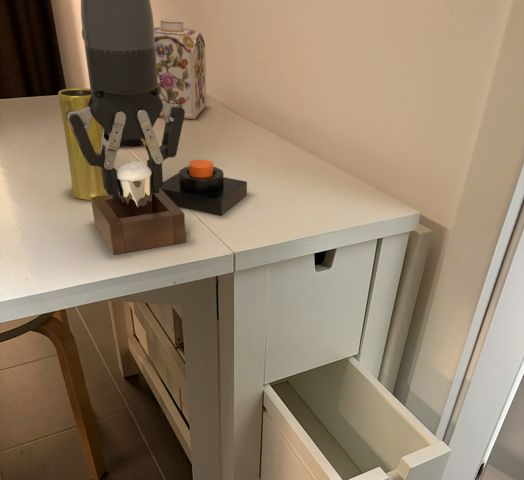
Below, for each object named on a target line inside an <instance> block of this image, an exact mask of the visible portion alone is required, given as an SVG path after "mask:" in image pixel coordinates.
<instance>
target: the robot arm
mask: <svg viewBox="0 0 524 480" xmlns="http://www.w3.org/2000/svg"><path fill="white" fill-rule="evenodd" d="M80 19H81V37H82V40H83V43H84V52H85V60H86V65H87V73H88V74H87V75H88V81H89V82H88V83H89V89H90V90H91V97H90V101H89V103H88V107H86V108H83V109H81V110H78V111H73V110H68V111H67V112H66V118H67V120H68V122H69V125H70V127H71V129H72V131H73V134H74V136H75V138H76V140H77V143H78V145H79V147H80V149H81V152H82V154H83V156H84V158H85V159H86V161H87V162H88V163H89V164H90V165H91V166H99V167H101V171H102V179H103V186H104V189H105V190H106V192H107V193H108V195H111V197H112V198H113V199H116V198H119V190H118V182H117V173H116V169H117V168H115V163H116V159H117V154H118V152H119V150H120V147H121V146H120V141H124V140H127V139H130V138H135V139H141V141H142V142H143V144H142V145H143V147H144V149H145V151H146V154H147V156H148V159H146V165H147V166H148V167H149V168H150V169H151V172H152V193H159V188H162V186H163V182H164V175H163V162H165V160H167V159H169V158H171V159H173V158H175V157H176V156H177V154H178V148H179V143H180V139H181V134H182V129H183V124H184V120H185V119H184V115H185V111H184V109H183V108H182V107H180V106H179V105H178V104H176V103H171V104H168V103H164V102H162V100H161V98H160V97H159V94H158V83H157V68H156V52H155V36H154V28H155V24H154V23H155V21H154V14H153V10H152V5H151V0H80ZM161 112H162V113H163V117H162V119H163V120H164V121H165V124H164V128H163V134H162V139H161V145H160V146H159V141H158V138H157V136H156V133H155V131H154V128H153V127H154V126H155V124H156V123H157V121H158V119H159V118H160V117H159V115H160V113H161ZM91 117H94V118H95V119H96V120H97V122H98V123H99V124H100V125H101V126H102V127H103V133H102V138H101V143H102V145H101V150H100V153H96V152H95V151H94V148H93V146H92V144H91V141H90V139H89V137H88V134H87V132H86V131H87V130H89V128H90V119H91Z"/></svg>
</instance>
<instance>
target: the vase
mask: <svg viewBox="0 0 524 480" xmlns="http://www.w3.org/2000/svg"><path fill="white" fill-rule="evenodd" d="M90 97H91V90H90V88H85V87H75V88H74V87H72V88H65V89H64V88H63V89H61V90H59V91H58V100H59V107H60V112H61V118H62V123H63V131H64V137H65V143H66V150H67V156H68V157H67V158H68V164H69V173H70V178H71V195H72V196H73V197H75V198H77V199H80V200H84V201H85V200H87V201H91V197H97V196H104V195H108V193H107V192H106V190H105V189H104V186H103V179H102V171H101V167H99V166H91V165H90V164H89V163H88V162H87V161H86V159H85V158H84V156H83V154H82V152H81V149H80V147H79V145H78V143H77V140H76V138H75V136H74V134H73V131H72V129H71V127H70V125H69V122H68V120H67V118H66V112H67V111H68V110H73V111H78V110H81V109H83V108H86V107H88V103H89V101H90ZM86 132H87V134H88V137H89V139H90V141H91V144H92V146H93V148H94V151H95V152H96V153H100V150H101V145H102V143H101V138H102V133H103V127H102V126H101V125H100V124H99V123H98V122H97V120H96V119H95V118H94V117H91V119H90V128H89V130H87V131H86Z"/></svg>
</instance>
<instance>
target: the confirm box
mask: <svg viewBox="0 0 524 480" xmlns="http://www.w3.org/2000/svg"><path fill="white" fill-rule="evenodd" d="M224 175H225V174H224V170H222V169H221V168H219V167H217V166H213V176H210V177H204V178H198V177H193V176H190V175H189V166H185V167H183V168H182V169H180V170H179V172H178V173H176V174H174V175H173V176H171V177H169V178H168V179H166V180H163V186H162V188H160V189H161V190H162V191H163V192H164V193H165V194H166V195H167V196H168V197H169V198H170V199H171V200H172V201H173V202H174V203H175V204H176V205H177V206H178V207H179V208H184V209H189V210H192V211H193V210H194V211H198V212H201V213H207V214H212V215H217V216H222V215H225V213H227V212H228V211H229V210H231V209H232V208H233V207H234V206H235V205H237V204H238V203H239V202H240V201H242V200H243V199H244V198H245V197H246V196H247V194H248V192H247V191H248V181H246V180H240V179H237V178H236V179H235V178H231V177H224Z"/></svg>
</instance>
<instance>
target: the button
mask: <svg viewBox="0 0 524 480" xmlns="http://www.w3.org/2000/svg"><path fill="white" fill-rule="evenodd" d="M188 167H189V175H190V176H193V177H198V178H204V177H210V176H213V167H214V162H213V161H211V160H209V159H193V160H191V161H189V162H188Z"/></svg>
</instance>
